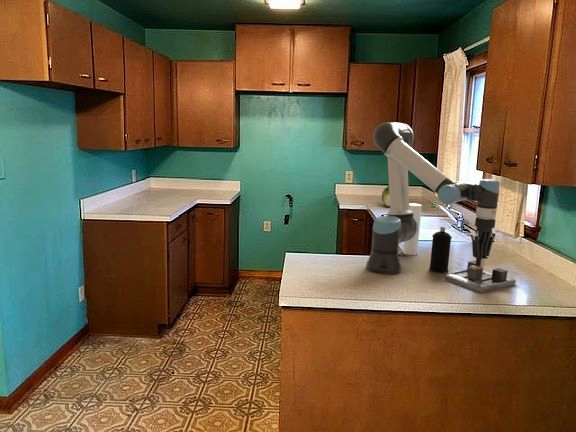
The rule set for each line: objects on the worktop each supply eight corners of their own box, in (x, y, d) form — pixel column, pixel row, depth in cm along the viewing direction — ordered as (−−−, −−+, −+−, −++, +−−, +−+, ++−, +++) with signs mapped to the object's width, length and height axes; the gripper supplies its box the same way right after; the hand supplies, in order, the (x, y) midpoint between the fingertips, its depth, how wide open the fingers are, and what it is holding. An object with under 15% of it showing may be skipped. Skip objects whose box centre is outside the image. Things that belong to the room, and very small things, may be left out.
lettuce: (386, 216, 369) (373, 199, 369) (392, 206, 389) (379, 191, 389) (403, 204, 360) (389, 187, 360) (408, 195, 380) (395, 179, 380)
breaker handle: (475, 280, 191) (476, 268, 190) (467, 277, 194) (468, 266, 193) (481, 278, 193) (483, 267, 192) (473, 276, 196) (474, 264, 195)
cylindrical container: (401, 253, 236) (405, 204, 231) (403, 250, 242) (407, 202, 238) (416, 255, 233) (420, 206, 229) (418, 252, 240) (422, 204, 235)
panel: (481, 293, 183) (483, 277, 182) (444, 279, 198) (445, 264, 197) (515, 284, 194) (517, 269, 193) (477, 272, 209) (479, 258, 208)
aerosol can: (438, 274, 205) (443, 229, 201) (425, 268, 212) (429, 225, 208) (452, 272, 209) (456, 228, 205) (438, 266, 216) (442, 224, 212)
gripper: (483, 220, 184) (476, 278, 188) (503, 218, 190) (496, 273, 195) (467, 217, 190) (460, 272, 195) (487, 214, 197) (480, 268, 201)
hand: (478, 273), depth 195 cm, fingers closed
